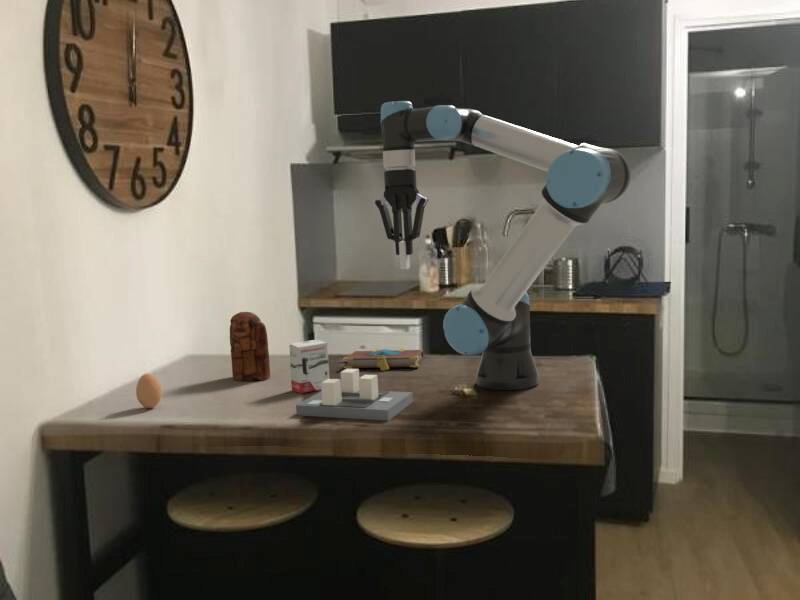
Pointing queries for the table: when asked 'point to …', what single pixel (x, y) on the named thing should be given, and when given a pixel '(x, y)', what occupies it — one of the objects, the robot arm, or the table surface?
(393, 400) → the switch bank
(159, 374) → the table surface
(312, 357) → the ink box
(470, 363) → the table surface
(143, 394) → the egg
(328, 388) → the tab
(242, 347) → the wooden figurine
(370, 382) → the tab
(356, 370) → the tab
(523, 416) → the table surface
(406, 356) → the book
